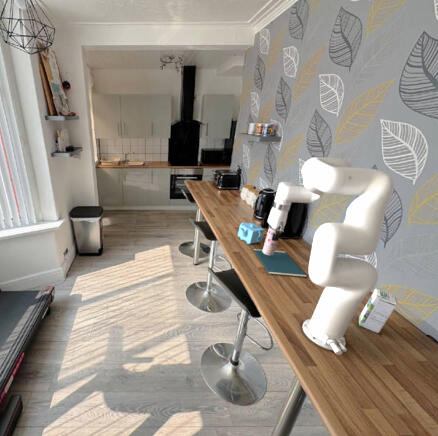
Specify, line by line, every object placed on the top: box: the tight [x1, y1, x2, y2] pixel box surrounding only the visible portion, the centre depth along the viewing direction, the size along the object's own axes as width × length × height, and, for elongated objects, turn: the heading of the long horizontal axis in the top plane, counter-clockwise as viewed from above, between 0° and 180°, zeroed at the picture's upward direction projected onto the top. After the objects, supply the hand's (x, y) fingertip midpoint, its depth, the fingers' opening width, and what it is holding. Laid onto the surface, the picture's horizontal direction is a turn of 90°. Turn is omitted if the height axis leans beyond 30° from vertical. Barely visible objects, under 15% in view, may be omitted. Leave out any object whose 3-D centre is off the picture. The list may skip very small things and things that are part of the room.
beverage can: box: [262, 226, 279, 255], centre depth 128 cm, size 6×6×15 cm
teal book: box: [253, 248, 308, 278], centre depth 127 cm, size 24×18×1 cm
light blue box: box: [237, 222, 265, 245], centre depth 146 cm, size 16×18×11 cm
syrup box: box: [358, 288, 398, 334], centre depth 86 cm, size 6×6×14 cm
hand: (272, 237), depth 127 cm, fingers closed on beverage can, 5 cm apart
